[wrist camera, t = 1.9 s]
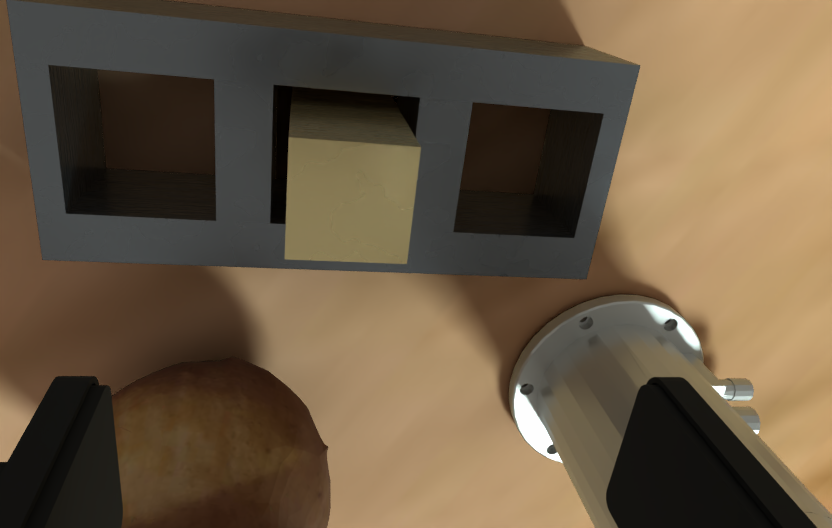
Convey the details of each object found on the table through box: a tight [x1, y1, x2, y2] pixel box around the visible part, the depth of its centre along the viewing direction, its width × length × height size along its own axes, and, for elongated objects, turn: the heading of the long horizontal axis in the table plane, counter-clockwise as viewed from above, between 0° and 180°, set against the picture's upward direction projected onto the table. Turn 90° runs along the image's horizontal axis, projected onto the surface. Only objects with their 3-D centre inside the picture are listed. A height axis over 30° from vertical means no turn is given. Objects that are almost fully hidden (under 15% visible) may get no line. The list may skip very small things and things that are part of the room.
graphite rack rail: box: [6, 0, 640, 279], centre depth 30 cm, size 24×10×6 cm, turn 83°
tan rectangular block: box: [285, 86, 421, 264], centre depth 27 cm, size 4×4×11 cm
